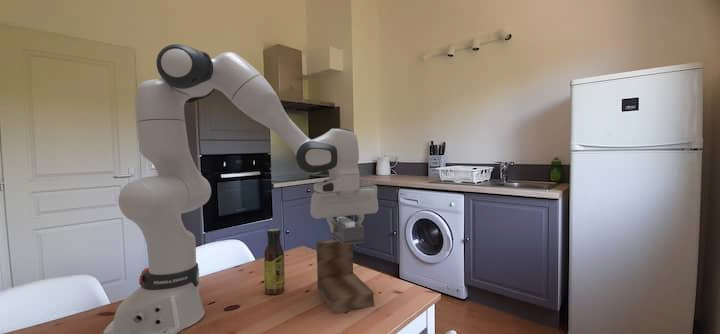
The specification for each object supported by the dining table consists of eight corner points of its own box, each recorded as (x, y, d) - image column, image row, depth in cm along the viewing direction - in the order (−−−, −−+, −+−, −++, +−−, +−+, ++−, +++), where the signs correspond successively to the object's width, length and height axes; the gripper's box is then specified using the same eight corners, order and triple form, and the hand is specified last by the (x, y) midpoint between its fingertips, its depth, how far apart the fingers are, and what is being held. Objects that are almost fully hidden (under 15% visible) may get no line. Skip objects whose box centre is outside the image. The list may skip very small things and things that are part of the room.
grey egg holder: (343, 245, 88) (343, 225, 88) (329, 233, 101) (329, 216, 101) (364, 242, 90) (363, 223, 90) (348, 231, 103) (347, 214, 103)
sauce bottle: (279, 296, 101) (277, 232, 100) (261, 294, 102) (259, 232, 101) (288, 287, 107) (286, 227, 106) (270, 286, 108) (269, 227, 107)
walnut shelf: (333, 314, 89) (332, 258, 88) (317, 289, 105) (316, 241, 105) (373, 306, 93) (372, 252, 92) (352, 283, 110) (351, 237, 109)
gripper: (372, 181, 102) (373, 225, 102) (308, 185, 94) (309, 232, 95) (381, 182, 96) (382, 229, 96) (313, 186, 88) (314, 237, 89)
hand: (345, 230), depth 95 cm, fingers closed on grey egg holder, 6 cm apart
